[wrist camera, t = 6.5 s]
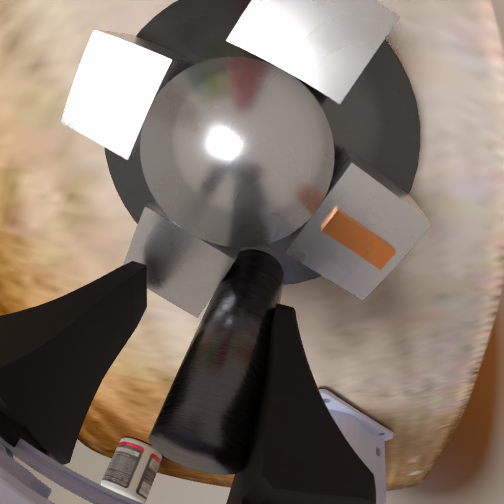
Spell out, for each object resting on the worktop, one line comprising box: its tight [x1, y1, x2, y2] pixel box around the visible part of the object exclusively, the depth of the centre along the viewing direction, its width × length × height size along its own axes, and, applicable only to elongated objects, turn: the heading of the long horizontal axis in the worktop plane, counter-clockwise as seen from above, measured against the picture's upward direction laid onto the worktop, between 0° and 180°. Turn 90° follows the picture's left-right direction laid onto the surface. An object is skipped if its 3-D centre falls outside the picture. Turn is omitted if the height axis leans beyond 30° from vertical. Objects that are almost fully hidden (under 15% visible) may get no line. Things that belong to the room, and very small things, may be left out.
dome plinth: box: [105, 0, 420, 285], centre depth 12 cm, size 13×13×1 cm
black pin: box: [149, 249, 284, 475], centre depth 10 cm, size 2×2×8 cm
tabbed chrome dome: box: [61, 0, 432, 318], centre depth 10 cm, size 13×13×3 cm
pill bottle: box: [101, 437, 162, 504], centre depth 27 cm, size 5×5×10 cm
